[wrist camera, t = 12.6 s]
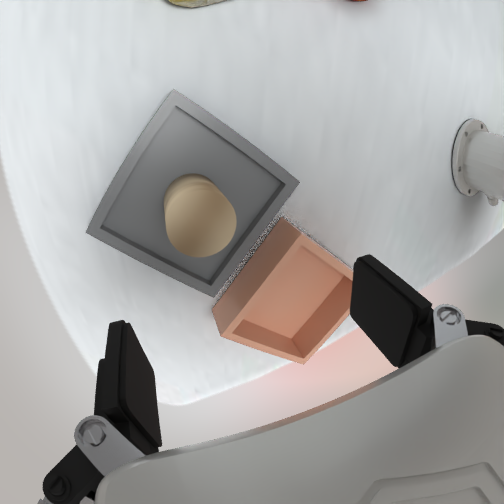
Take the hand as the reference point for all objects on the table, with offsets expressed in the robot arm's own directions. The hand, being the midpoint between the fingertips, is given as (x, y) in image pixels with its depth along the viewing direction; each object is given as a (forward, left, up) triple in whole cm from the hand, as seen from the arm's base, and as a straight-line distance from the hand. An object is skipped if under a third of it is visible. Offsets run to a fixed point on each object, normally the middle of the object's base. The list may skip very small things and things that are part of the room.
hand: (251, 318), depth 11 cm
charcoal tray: (0, 0, -18) cm, 18 cm away
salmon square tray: (-15, +3, -18) cm, 23 cm away
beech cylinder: (0, 0, -17) cm, 17 cm away
